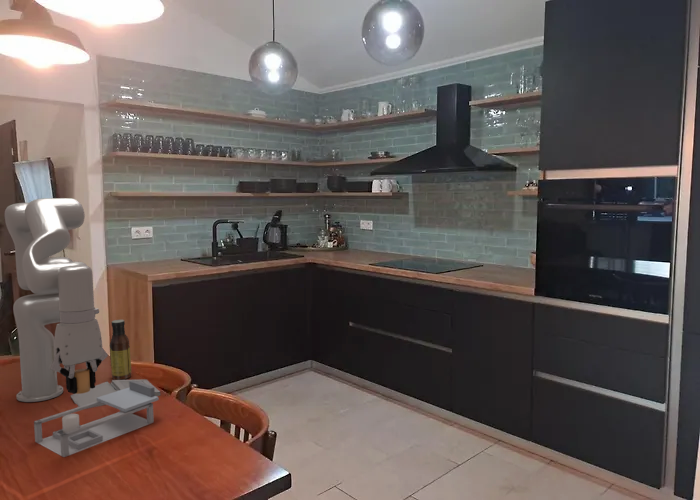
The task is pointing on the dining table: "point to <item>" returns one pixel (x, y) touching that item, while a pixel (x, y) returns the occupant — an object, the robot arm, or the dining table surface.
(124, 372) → the sauce bottle
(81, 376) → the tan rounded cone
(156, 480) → the dining table surface
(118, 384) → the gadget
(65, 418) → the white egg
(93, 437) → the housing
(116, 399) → the lid
